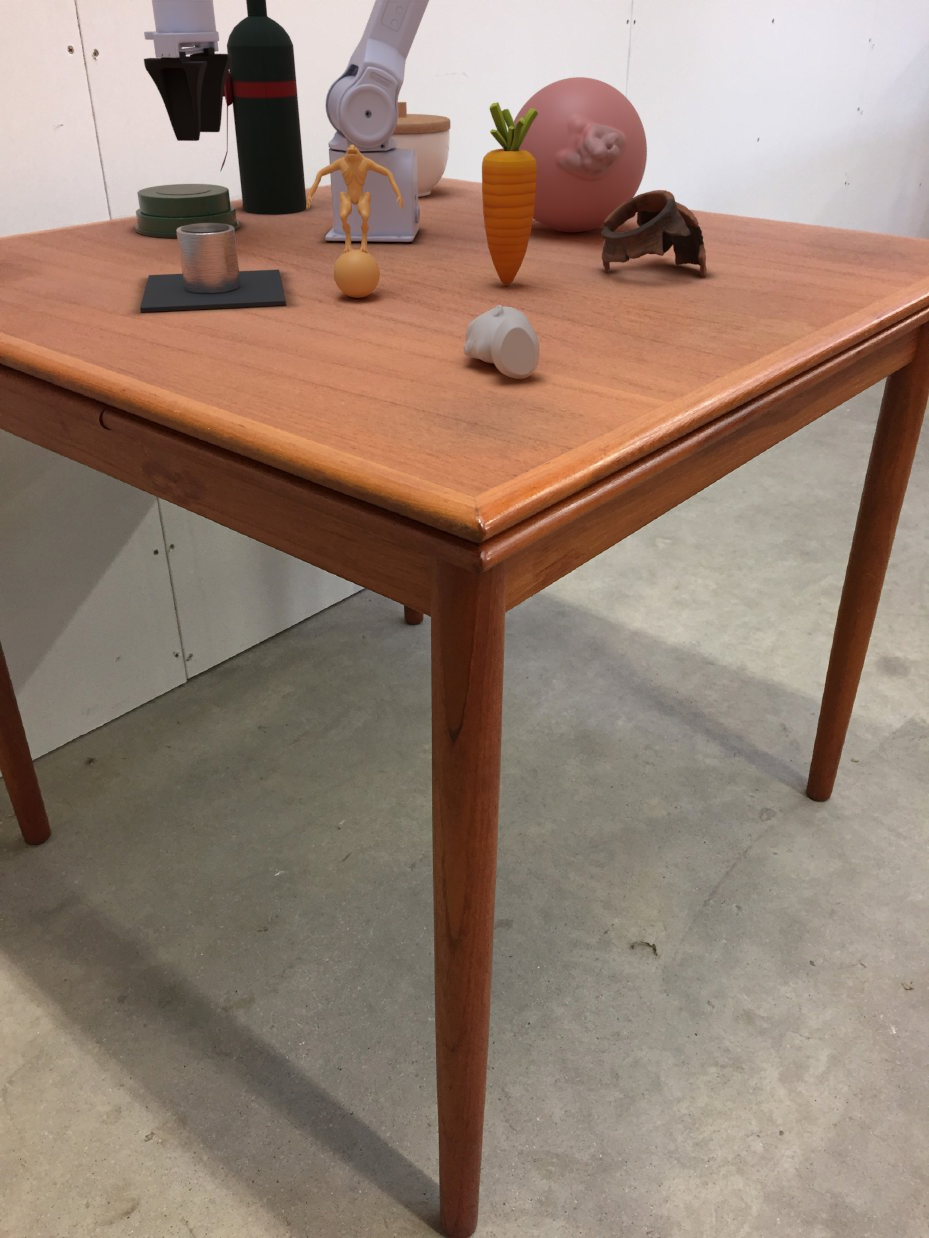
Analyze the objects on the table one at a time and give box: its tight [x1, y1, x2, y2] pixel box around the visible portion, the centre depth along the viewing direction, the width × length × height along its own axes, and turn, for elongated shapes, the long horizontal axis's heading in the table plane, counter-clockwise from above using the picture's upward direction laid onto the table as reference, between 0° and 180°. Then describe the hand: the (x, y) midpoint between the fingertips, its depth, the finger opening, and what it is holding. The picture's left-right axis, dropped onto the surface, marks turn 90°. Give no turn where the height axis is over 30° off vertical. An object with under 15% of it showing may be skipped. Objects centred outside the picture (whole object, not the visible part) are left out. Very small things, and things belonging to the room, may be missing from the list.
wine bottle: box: [219, 0, 307, 215], centre depth 118 cm, size 8×10×30 cm
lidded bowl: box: [391, 101, 451, 198], centre depth 133 cm, size 13×13×11 cm
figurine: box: [306, 145, 404, 299], centre depth 86 cm, size 8×6×12 cm
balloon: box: [513, 76, 648, 233], centre depth 108 cm, size 15×20×15 cm
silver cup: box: [176, 223, 241, 294], centre depth 88 cm, size 5×5×5 cm
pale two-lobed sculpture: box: [463, 304, 540, 380], centre depth 71 cm, size 4×8×5 cm
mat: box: [139, 269, 287, 313], centre depth 90 cm, size 12×12×1 cm
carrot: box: [481, 101, 538, 287], centre depth 88 cm, size 5×5×15 cm
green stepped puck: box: [134, 183, 241, 239], centre depth 114 cm, size 12×12×4 cm
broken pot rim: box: [600, 189, 708, 278], centre depth 96 cm, size 12×10×8 cm
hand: (199, 136), depth 102 cm, fingers open, 7 cm apart
